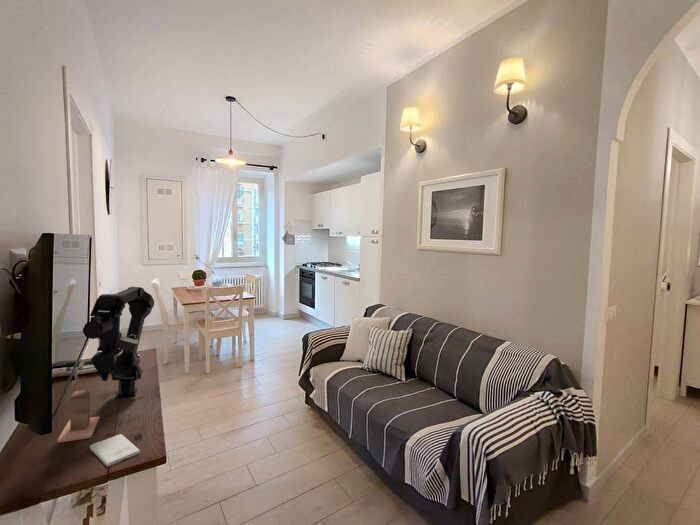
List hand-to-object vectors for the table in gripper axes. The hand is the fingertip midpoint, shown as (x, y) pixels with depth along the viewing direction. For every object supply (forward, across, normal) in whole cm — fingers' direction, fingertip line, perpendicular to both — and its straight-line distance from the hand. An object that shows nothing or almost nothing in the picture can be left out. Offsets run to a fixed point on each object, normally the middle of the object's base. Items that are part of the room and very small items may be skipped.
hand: (107, 375), depth 118 cm
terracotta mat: (+13, -10, +5) cm, 17 cm away
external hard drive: (+14, -26, -6) cm, 30 cm away
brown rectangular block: (+12, -10, +5) cm, 17 cm away
